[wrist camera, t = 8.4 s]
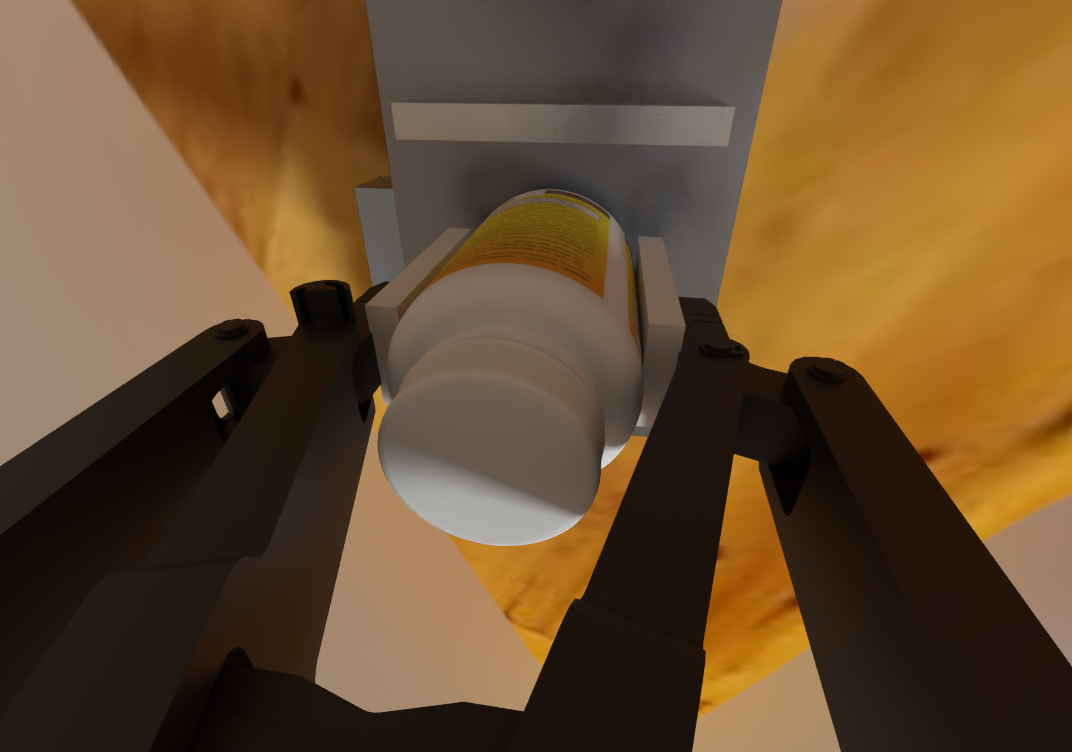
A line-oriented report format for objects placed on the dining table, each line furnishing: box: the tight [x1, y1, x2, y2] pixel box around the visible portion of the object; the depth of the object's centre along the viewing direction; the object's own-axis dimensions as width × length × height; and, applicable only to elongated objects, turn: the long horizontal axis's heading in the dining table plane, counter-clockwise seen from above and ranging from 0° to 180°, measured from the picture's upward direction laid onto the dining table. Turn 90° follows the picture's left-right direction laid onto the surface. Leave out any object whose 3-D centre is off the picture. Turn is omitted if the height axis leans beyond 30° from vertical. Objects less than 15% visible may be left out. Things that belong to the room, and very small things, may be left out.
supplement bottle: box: [378, 189, 644, 546], centre depth 13 cm, size 6×6×10 cm
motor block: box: [354, 0, 782, 437], centre depth 21 cm, size 20×14×6 cm
